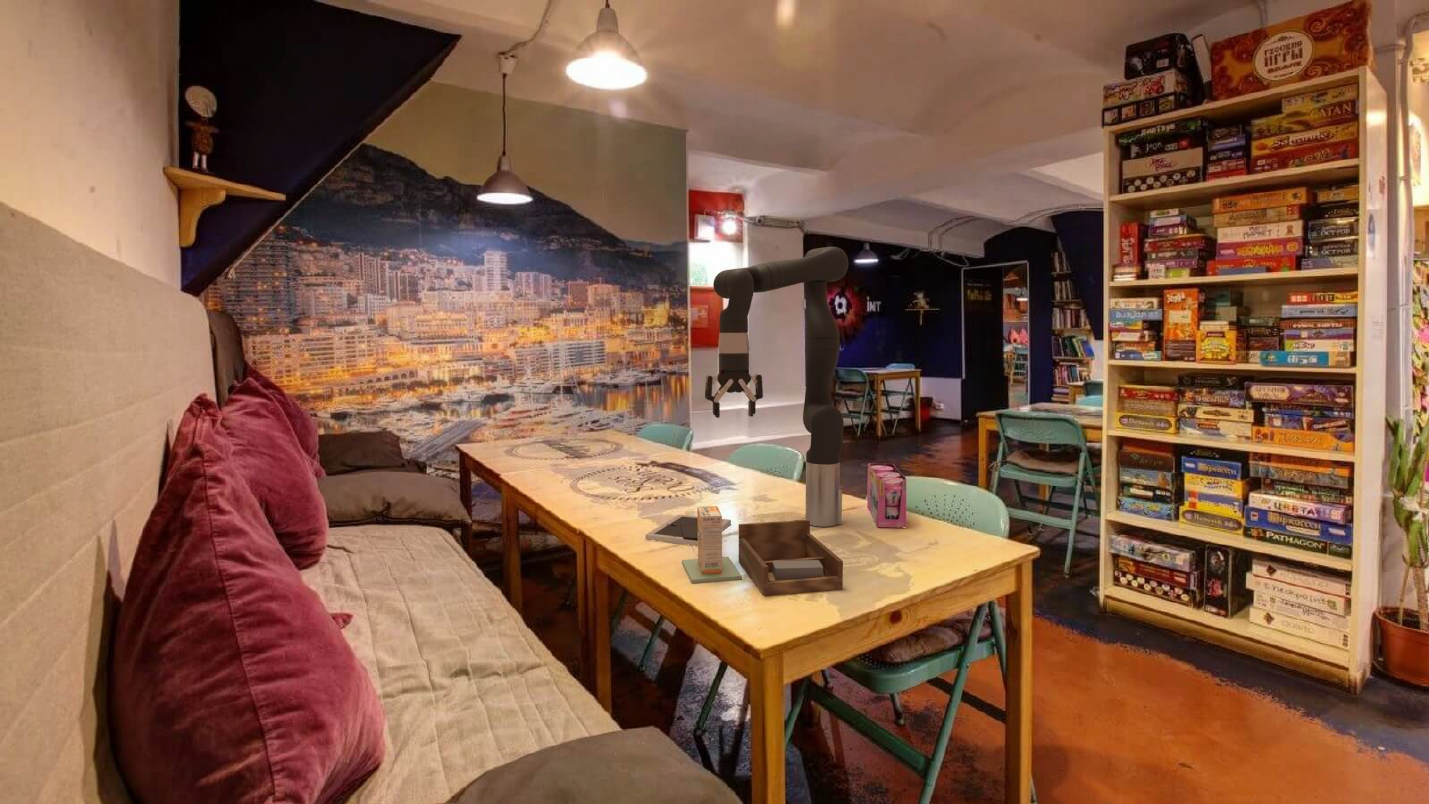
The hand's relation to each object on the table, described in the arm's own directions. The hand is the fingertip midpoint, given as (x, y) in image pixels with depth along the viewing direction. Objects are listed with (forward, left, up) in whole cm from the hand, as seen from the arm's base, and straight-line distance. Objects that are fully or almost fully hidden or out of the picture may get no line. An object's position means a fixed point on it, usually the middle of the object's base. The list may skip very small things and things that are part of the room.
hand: (734, 416), depth 171 cm
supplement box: (+10, +19, -32) cm, 38 cm away
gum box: (-48, -13, -32) cm, 59 cm away
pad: (+10, +19, -32) cm, 39 cm away
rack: (-6, +25, -32) cm, 41 cm away
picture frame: (+10, -12, -33) cm, 36 cm away
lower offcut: (-6, +31, -33) cm, 45 cm away
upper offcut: (-6, +31, -30) cm, 44 cm away
